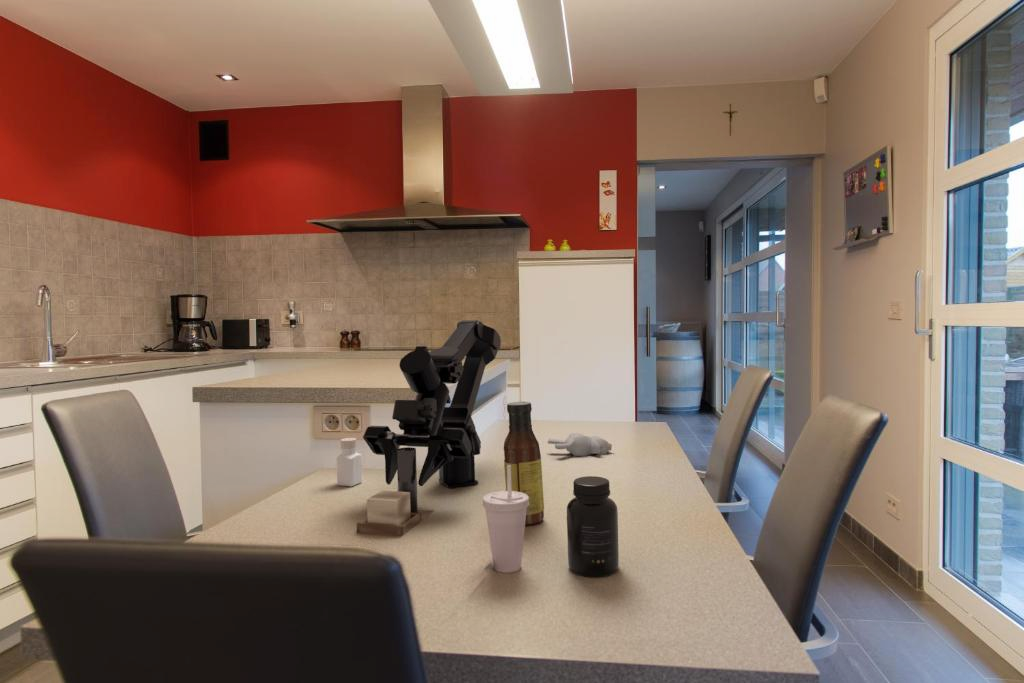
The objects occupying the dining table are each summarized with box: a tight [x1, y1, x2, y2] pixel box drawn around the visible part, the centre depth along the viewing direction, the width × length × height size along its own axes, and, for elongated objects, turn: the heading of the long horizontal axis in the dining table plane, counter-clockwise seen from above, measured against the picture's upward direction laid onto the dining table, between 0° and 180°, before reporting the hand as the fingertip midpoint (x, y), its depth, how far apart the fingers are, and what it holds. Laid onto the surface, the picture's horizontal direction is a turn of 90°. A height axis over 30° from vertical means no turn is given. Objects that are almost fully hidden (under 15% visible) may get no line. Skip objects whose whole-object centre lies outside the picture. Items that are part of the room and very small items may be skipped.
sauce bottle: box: [503, 401, 545, 526], centre depth 103 cm, size 7×6×20 cm
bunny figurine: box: [547, 432, 613, 457], centre depth 152 cm, size 10×5×15 cm
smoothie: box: [481, 465, 529, 574], centre depth 84 cm, size 6×6×14 cm
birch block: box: [366, 490, 411, 525], centre depth 98 cm, size 5×5×5 cm
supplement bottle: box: [566, 475, 620, 578], centre depth 83 cm, size 7×7×12 cm
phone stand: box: [356, 446, 435, 538], centre depth 101 cm, size 13×8×12 cm, turn 164°
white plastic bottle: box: [336, 437, 363, 487], centre depth 129 cm, size 4×4×10 cm
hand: (403, 484), depth 104 cm, fingers open, 6 cm apart
